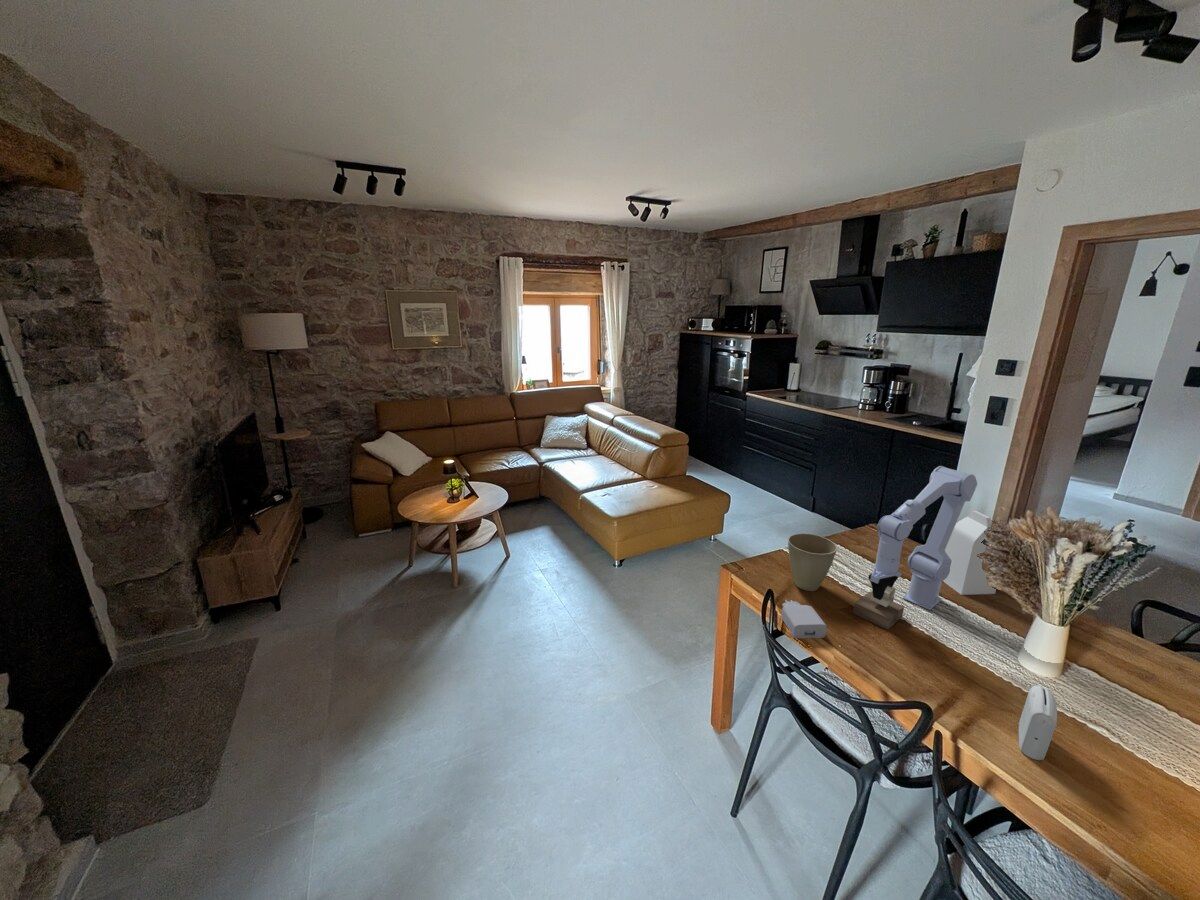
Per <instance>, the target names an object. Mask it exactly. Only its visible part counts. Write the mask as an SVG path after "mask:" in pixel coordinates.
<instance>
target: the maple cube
mask: <svg viewBox="0 0 1200 900" xmlns="http://www.w3.org/2000/svg"><path fill="white" fill-rule="evenodd" d="M871 592H872V595H871V600H872V601H874V602H876V603H878V604H880V605H883V606H885V607H887V606H888V605H890V604H891V603H892V602H894V598H895V593H896V587H890V586H888V587H887V588H886V590H885V592H884V595H883V597H882V599H881V600H879V599H876V598H874V597H873V591H872V590H871Z"/></svg>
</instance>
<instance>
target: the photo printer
mask: <svg viewBox="0 0 1200 900" xmlns="http://www.w3.org/2000/svg"><path fill="white" fill-rule="evenodd" d="M1057 722H1058V706H1057V702H1056V698H1055V695H1054V694H1053V693H1052V691H1051V690H1050V689H1049V688H1048V687H1043V686H1042V685H1039V684H1038V685H1033V686H1031V687H1030V689H1029V691H1028V693H1027V697H1026V700H1025V703H1024V706H1023V709H1022V712H1021V715H1020V718H1019V722H1018V746H1019V751H1021V752H1022V753H1023V754H1024V755H1025V756H1027V757H1028V758H1030V759H1033V760H1036V761H1044V760H1045V757H1046V755H1047V753H1048V749H1049V747H1050V744H1051V742H1052V737H1053V735H1054V732H1055V730H1056V726H1057V724H1058V723H1057Z"/></svg>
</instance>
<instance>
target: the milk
mask: <svg viewBox="0 0 1200 900" xmlns="http://www.w3.org/2000/svg"><path fill="white" fill-rule="evenodd" d="M991 525H992V521H991V517H989V516H987V515H986V514H983V513H982V512H980V511H978V510H975V509H974V510H973V509H972V510H971V511H970V512H969V513H968V514H967V516H965V517H964V518H962V519H960V520H959V521H957V522H956V525H955V527H954V530H953V532H952V534H951V537H950V539H949V542H948V544H947V546H946V549H945V552H946V553H947V555H948V556H949V557H950V559H951V560H952V562H951V566H950V573H949V575H948V577H947V578H946V579H945V580H943V581H942V582H944V583H945V584H946V585H947V586H948V587H950V588H951V589H953V590H954V591H956V592H957V593H958V594H959V595H961V596H963V595H964V596H965V595H966V596H967V595H971V596H972V595H993V594H996V591H997V588H996V589H994V588H992V587H989V586H988V585H987V579H986V574H985V572H984V571H983V569H982V561H981V559H980V558H979V557H977V556H976V555H977V554H980V553H983V552H984V551H985V548H986V547H985V545H984V544H983V543H981V542H982V541H983V540H984V539H985V537H986V535H985V534H984V531H987V530H989V529H990V528H991Z"/></svg>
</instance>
